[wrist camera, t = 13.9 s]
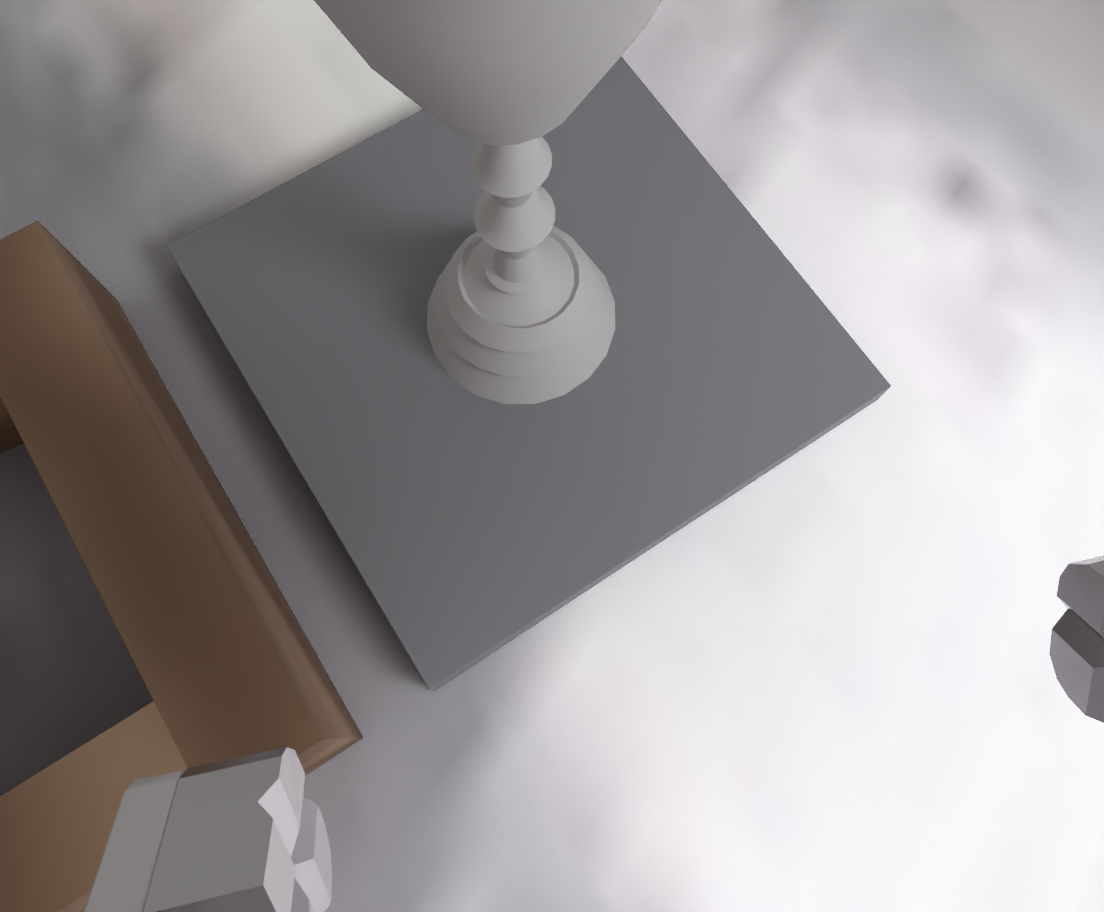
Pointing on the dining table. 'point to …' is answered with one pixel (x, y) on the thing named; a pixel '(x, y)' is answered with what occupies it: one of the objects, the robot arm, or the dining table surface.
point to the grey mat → (520, 429)
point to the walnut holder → (139, 576)
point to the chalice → (506, 175)
